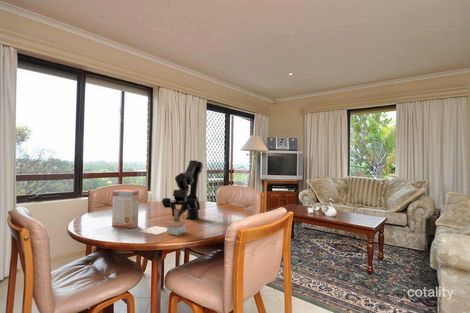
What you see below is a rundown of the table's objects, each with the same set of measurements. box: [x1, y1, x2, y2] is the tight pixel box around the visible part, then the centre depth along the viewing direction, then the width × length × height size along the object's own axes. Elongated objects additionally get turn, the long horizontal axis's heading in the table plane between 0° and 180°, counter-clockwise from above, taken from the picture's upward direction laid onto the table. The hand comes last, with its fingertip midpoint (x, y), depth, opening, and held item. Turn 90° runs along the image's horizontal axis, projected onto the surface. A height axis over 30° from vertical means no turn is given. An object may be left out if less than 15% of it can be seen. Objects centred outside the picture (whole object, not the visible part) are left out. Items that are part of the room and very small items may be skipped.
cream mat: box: [139, 225, 167, 236], centre depth 138 cm, size 12×12×1 cm
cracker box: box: [111, 189, 140, 229], centre depth 145 cm, size 14×6×21 cm, turn 71°
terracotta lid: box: [167, 208, 186, 227], centre depth 135 cm, size 7×7×8 cm
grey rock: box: [166, 223, 187, 236], centre depth 135 cm, size 7×7×6 cm
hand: (175, 216), depth 133 cm, fingers closed on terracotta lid, 3 cm apart
